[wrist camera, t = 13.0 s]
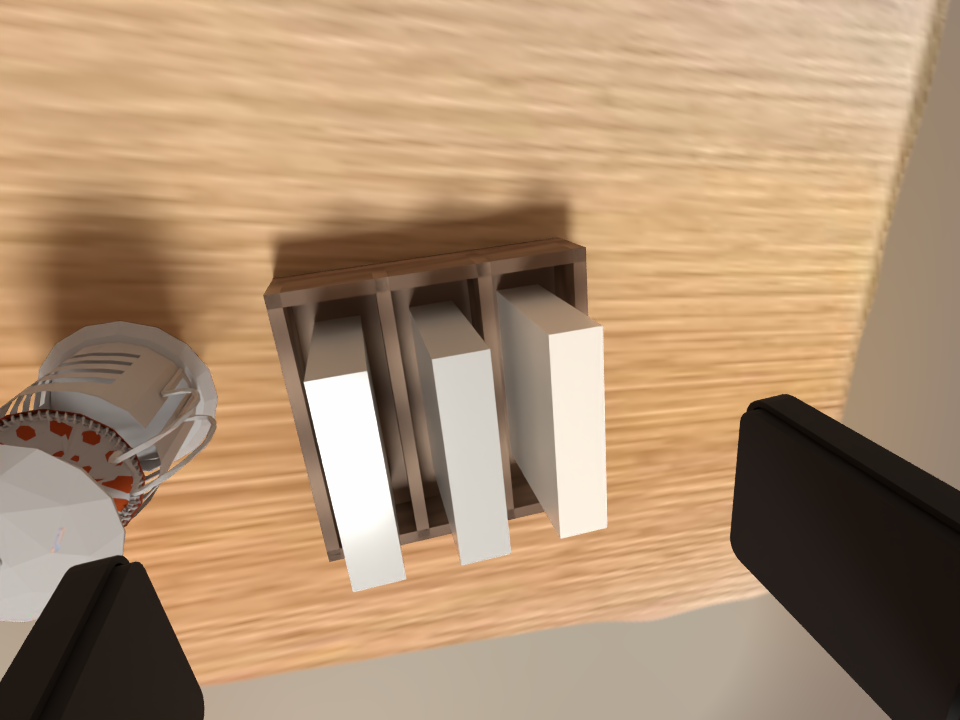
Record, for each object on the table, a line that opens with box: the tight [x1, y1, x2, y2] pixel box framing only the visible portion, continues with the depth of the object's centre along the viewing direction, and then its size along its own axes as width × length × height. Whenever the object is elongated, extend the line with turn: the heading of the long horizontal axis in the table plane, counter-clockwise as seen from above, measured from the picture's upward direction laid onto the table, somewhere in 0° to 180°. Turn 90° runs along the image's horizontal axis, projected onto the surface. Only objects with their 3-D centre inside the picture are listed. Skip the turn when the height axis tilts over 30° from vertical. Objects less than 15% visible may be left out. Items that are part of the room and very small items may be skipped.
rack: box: [263, 238, 588, 562], centre depth 36 cm, size 18×18×4 cm
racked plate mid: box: [409, 301, 511, 566], centre depth 33 cm, size 12×3×10 cm, turn 6°
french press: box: [0, 321, 218, 622], centre depth 23 cm, size 10×12×25 cm
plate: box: [496, 284, 607, 539], centre depth 34 cm, size 12×3×10 cm, turn 6°
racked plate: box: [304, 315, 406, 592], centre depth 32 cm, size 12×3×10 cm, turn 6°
